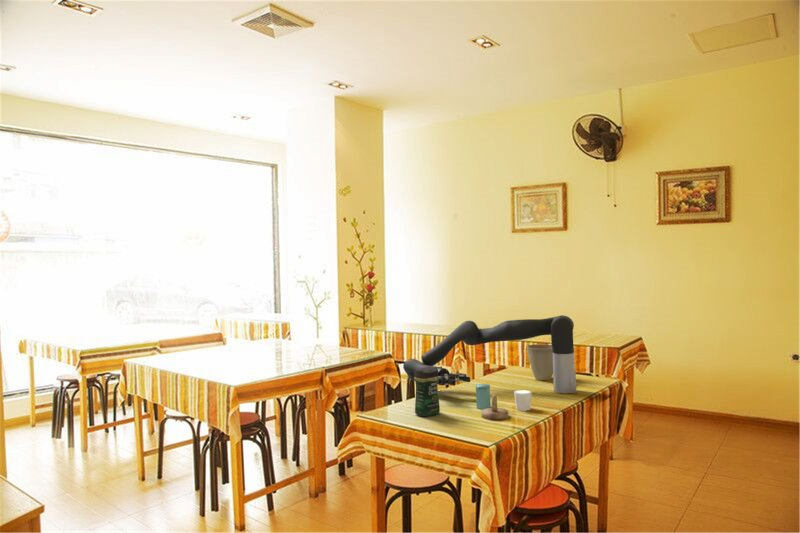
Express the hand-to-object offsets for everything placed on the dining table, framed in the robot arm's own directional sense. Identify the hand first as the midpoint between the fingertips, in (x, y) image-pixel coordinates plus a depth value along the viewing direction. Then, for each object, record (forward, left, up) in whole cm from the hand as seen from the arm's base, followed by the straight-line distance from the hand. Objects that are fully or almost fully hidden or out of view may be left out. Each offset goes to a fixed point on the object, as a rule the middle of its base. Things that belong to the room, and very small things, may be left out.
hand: (462, 381), depth 241 cm
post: (-12, +21, -9) cm, 26 cm away
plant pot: (-38, -42, -9) cm, 58 cm away
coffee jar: (+14, +17, -9) cm, 24 cm away
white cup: (-24, +11, -9) cm, 28 cm away
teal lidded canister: (-8, +8, -9) cm, 14 cm away
